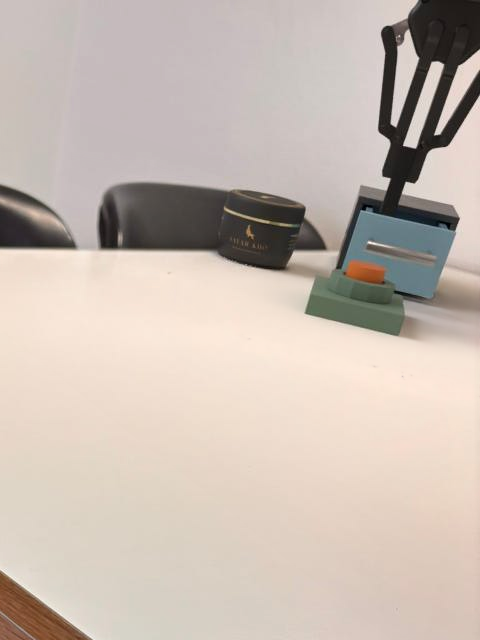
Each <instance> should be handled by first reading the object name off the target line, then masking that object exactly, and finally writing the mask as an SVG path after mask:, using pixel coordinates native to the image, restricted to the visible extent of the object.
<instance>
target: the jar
mask: <svg viewBox="0 0 480 640" xmlns="http://www.w3.org/2000/svg"><path fill="white" fill-rule="evenodd" d="M306 211H307V207H306V205H304V204H303V203H301V202H299V201H297V200H294V199H290V198H288V197H284V196H280V195H276V194H272V193H267V192H262V191H257V190H250V189H242V188H241V189H239V188H235V189H231V190H230V191H229V192H228V194H227V197H226V200H225V204H224V205H223V213H222V217H221V221H220V223H219V224H220V226H219V228H218V232H217V235H216V251H217V252H218V255H219V254H220V255H221V256H220V255H219V256H220V257H222V258H224V257H225V258H224V259H226V258H227V259H226V260H229V259H230V260H229V261H231V260H233V261H232V262H234V261H236V262H235V263H237V262H239V263H238V264H241V263H243V264H242V265H245V264H247V265H246V266H249V265H252V266H251V267H254V266H256V267H255V268H259V267H260V268H259V269H266V268H267V270H281V269H283V268H284V267H286V266H287V265H288V263H289V262H290V260H291V258H292V257H293V254H294V251H295V248H296V245H297V241H298V237H299V235H300V231H301V228H302V227H303V224H304V219H305V215H306Z"/></svg>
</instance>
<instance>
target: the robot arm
mask: <svg viewBox="0 0 480 640" xmlns="http://www.w3.org/2000/svg"><path fill="white" fill-rule="evenodd" d="M407 31H409V34H410V38H411V42H412V45H413V48H414V53H415V54H416V55H415V56H417V58H418V60H417V63H416V67H415V70H414V72H413V76H412V79H411V81H410V85H409V88H408V91H407V94H406V96H405V100H404V103H403V105H402V109H401V112H400V115H399V116H398V120H397V124H396V125H393V124H392V115H393V106H394V95H395V87H396V76H397V75H396V74H397V68H398V67H397V66H398V54H399V53H398V51H399V50H398V49H399V48H398V47H401V45H403V44H404V42H405V35H406V33H407ZM380 37H381V43H382V46H383V50H384V60H383V71H382V80H381V81H382V82H381V91H380V100H379V101H380V102H379V111H378V112H379V113H378V122H377V131H378V133H379V134H380V135H382V136H383V137H384V138H386V139H387V140H388V141H389V148H388V151H387V154H386V157H385V160H384V163H383V166H382V169H381V177H382V178H386V179H389V183H388V185H387V188H386V194H385V197H384V200H383V203H382V206H381V209H380V213H382V214H387V215H391V216H394V215H395V212H396V209H397V206H398V203H399V200H400V197H401V194H403V191H404V188H405V186H406V183H409V184H413V185H416V183H417V182H418V181H419V179H420V176H421V173H422V171H423V167H424V164H425V161H426V159H427V156H428V154H429V153H430V152H431V151H432V150H435V149H441V148H447V147H448V146H450V144H451V143H452V141H454V138H455V137H456V135H457V134H458V131H459V130H460V129H461V126H462V125H463V124H464V122H465V121H466V119H467V117H468V116H469V114H470V112H471V110H472V109H473V107H474V105H475V104H476V102H477V101H478V100H479V98H480V69H479V70H478V71H477V73H476V74H475V76H474V77H473V79H472V81H471V83H470V84H469V86H468V88H467V89H466V90H465V93H464V94H463V96H462V97H461V99H460V101H459V103H457V106H456V107H455V109H454V110H453V112H452V114H451V116H450V117H449V119H448V120H447V122H446V124H445V125H444V127H443V128H442V130H441V131H440V133H439V134H436V131H437V128H438V125H439V122H440V120H441V117H442V114H443V111H444V108H445V105H446V103H447V102H446V101H447V99H448V96H449V95H450V91H451V88H452V85H453V83H454V79H455V77H456V74H457V71H458V68H459V66H462V65H463V64H465V63H466V62H467V61H468V60H470V59H471V58H472V57H473V56H474V55H475V54H476V53H478V51H480V0H417V1H416V4H415V5H414V6H413V7H412V8H411V9H410V11H409V12H408V15H407V17H406V18H404V19H402V20H400V21H398V22H396V23H393V24H391V25H385V26H383V27H382V29H381V31H380ZM437 62H438V63H440V64H442V65H443V66H442V70H441V72H440V75H439V79H438V82H437V85H436V88H435V91H434V93H433V96H432V100H431V102H430V106H429V108H428V111H427V114H426V117H425V119H424V123H423V125H422V128H421V130H420V131H421V132H420V134H419V138H418V141H417V144H416V147H411V146H406V145H404V144H405V141H406V139H407V136H408V132H409V130H410V127H411V124H412V121H413V118H414V116H415V113H416V109H417V106H418V103H419V100H420V97H421V95H422V93H423V89H424V85H425V83H426V79H427V77H428V75H429V71H430V70H431V69H430V68H431V65H432V64H433V63H437Z"/></svg>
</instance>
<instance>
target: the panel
mask: <svg viewBox="0 0 480 640" xmlns="http://www.w3.org/2000/svg"><path fill="white" fill-rule="evenodd" d="M346 272H347V270H345V269H335V268H333V269H332V271H331V273H330V277H326V276H321V275H318V274H317V275H315V278H314V280H313V284H312V286H311V290H310V293H309V296H308V300H307V303H306V307H305V310H304V314H305V315H309V316H312V317H317V318H322V319H324V320H329V321H333V322H338V323H340V324H341V323H342V324H346V325H349V326H354V327H358V328H362V329H366V330H370V331H375V332H379V333H383V334H386V335H391V336H395V337H399V335H400V332H401V329H402V326H403V323H404V320H405V317H406V314H405V305H404V298H403V297H404V296H403V295H401V294H399V293H398V294H397V293H395V291H396V290H395V284H394V283H392V282H390V281H388V280H386V279H383V282H382V284H374V283H368V282H363V281H359V280H356V279H353V278H350V277H347V276H346Z"/></svg>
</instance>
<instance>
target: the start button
mask: <svg viewBox="0 0 480 640" xmlns="http://www.w3.org/2000/svg"><path fill="white" fill-rule="evenodd" d="M385 273H386V269H385V268H384V267H381V266H379V265H376V264H372V263H368V262H363V261H356V260H352V261H350V262H349V265H348V268H347V272H346V276H347V277H350V278H353V279H356V280H359V281H363V282H368V283H374V284H382V282H383V279H384V276H385Z"/></svg>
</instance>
